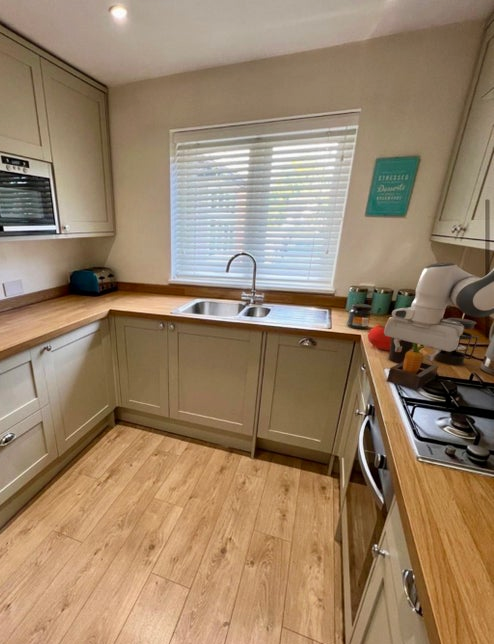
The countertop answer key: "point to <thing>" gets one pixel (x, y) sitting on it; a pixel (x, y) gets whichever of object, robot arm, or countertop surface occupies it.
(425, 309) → the robot arm
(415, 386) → the brown rectangular box
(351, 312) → the supplement container
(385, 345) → the tomato
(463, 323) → the french press
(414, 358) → the carrot
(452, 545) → the countertop surface
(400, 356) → the coffee mug
